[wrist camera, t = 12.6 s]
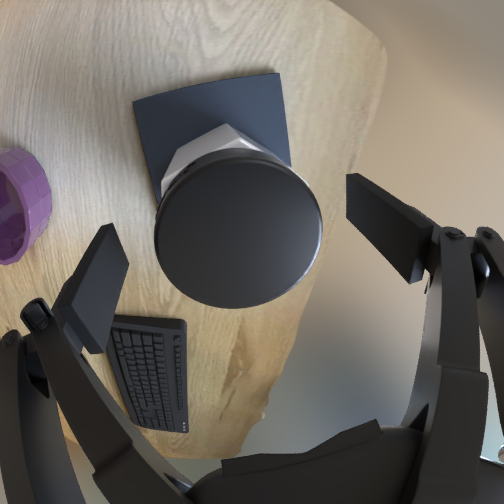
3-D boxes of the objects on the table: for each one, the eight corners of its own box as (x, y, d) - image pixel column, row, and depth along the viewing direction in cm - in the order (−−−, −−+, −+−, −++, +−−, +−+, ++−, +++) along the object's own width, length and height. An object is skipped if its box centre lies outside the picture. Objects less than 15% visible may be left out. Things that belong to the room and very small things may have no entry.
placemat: (133, 101, 19) (132, 101, 19) (277, 73, 20) (279, 72, 19) (178, 263, 28) (178, 267, 27) (296, 238, 28) (298, 241, 28)
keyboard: (97, 313, 29) (93, 324, 27) (186, 319, 32) (186, 331, 30) (133, 422, 43) (132, 430, 42) (188, 425, 46) (189, 434, 44)
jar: (174, 122, 20) (146, 147, 10) (274, 126, 22) (339, 155, 12) (175, 223, 25) (161, 318, 15) (264, 223, 26) (305, 311, 16)
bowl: (-25, 167, 17) (-53, 183, 13) (36, 129, 18) (6, 139, 14) (5, 248, 23) (-16, 273, 18) (68, 226, 23) (47, 252, 19)
